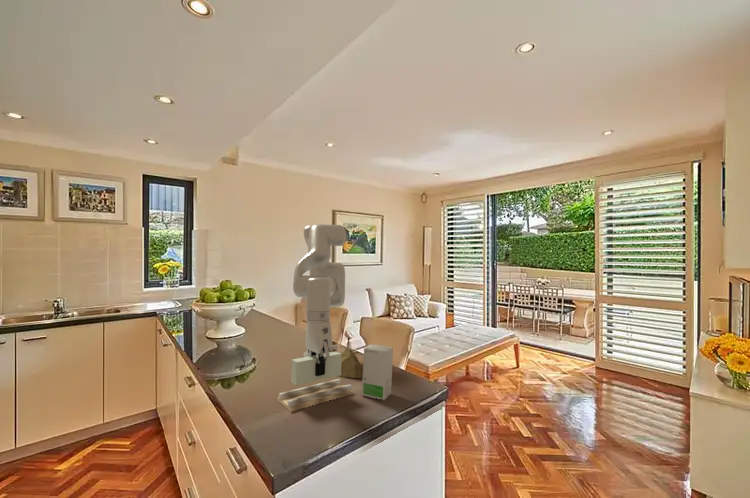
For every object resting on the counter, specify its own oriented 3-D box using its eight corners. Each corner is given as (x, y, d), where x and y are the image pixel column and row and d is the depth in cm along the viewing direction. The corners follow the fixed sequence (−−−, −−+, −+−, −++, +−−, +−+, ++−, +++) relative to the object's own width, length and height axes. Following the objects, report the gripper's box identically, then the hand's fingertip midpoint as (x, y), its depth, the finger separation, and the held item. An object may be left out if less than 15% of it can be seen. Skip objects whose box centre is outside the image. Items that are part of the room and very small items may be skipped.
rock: (370, 371, 127) (358, 360, 136) (360, 355, 124) (348, 345, 132) (349, 392, 123) (337, 379, 132) (337, 376, 120) (326, 365, 128)
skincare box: (361, 396, 110) (362, 347, 110) (369, 389, 116) (370, 343, 116) (385, 400, 106) (386, 351, 107) (392, 393, 112) (393, 346, 113)
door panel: (335, 372, 115) (335, 351, 115) (340, 375, 112) (341, 353, 112) (291, 382, 105) (291, 359, 105) (296, 385, 102) (296, 362, 102)
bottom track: (337, 384, 119) (337, 377, 119) (353, 393, 111) (353, 386, 111) (277, 400, 106) (277, 392, 106) (290, 411, 98) (290, 403, 98)
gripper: (341, 318, 105) (340, 378, 104) (316, 311, 118) (315, 364, 117) (320, 320, 100) (319, 383, 100) (296, 313, 113) (294, 368, 113)
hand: (316, 372), depth 109 cm, fingers closed on door panel, 3 cm apart
